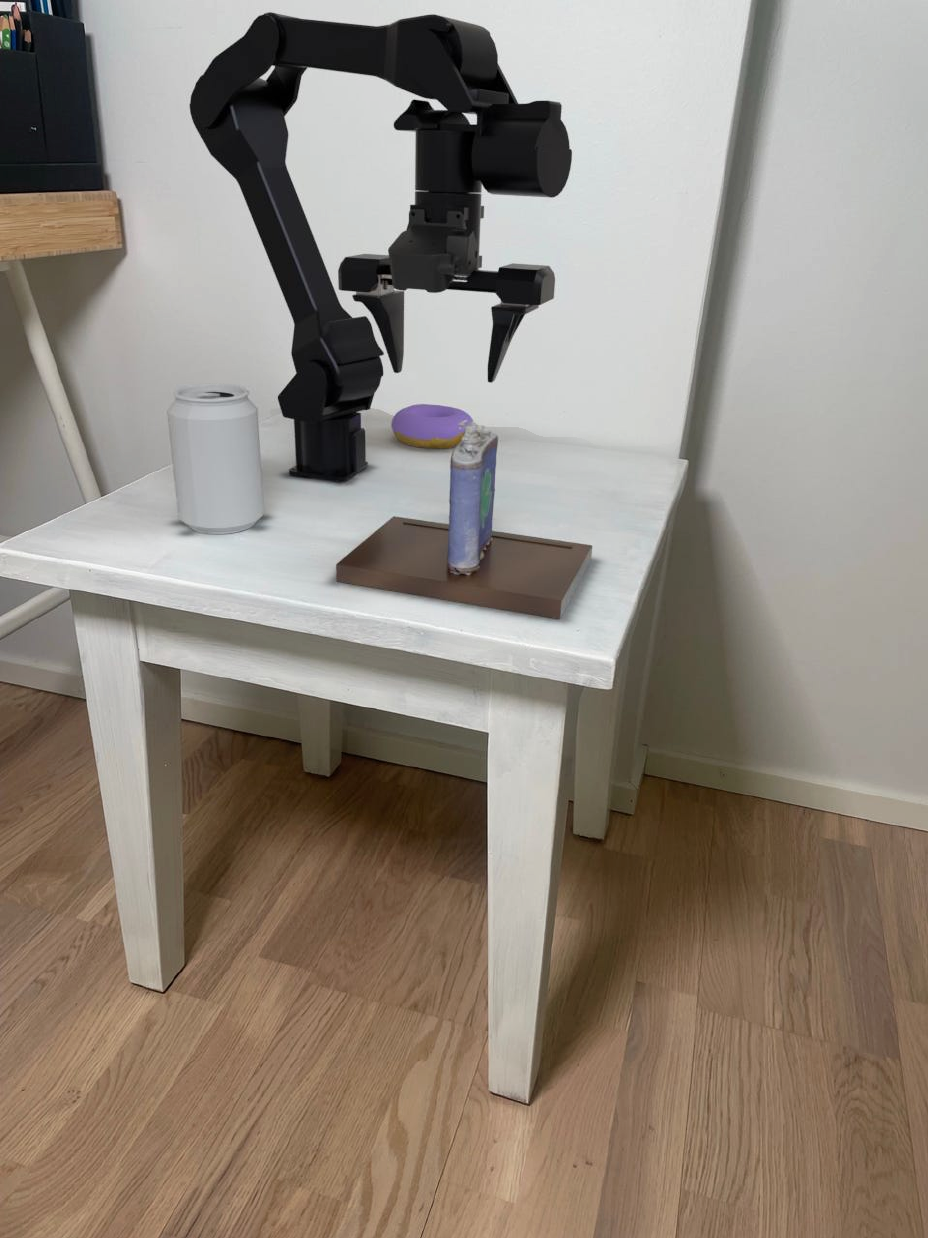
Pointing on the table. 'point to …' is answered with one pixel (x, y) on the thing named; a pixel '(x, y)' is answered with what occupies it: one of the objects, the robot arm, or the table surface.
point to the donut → (430, 426)
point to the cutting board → (504, 580)
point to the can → (216, 458)
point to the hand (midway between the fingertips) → (443, 376)
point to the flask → (471, 498)
